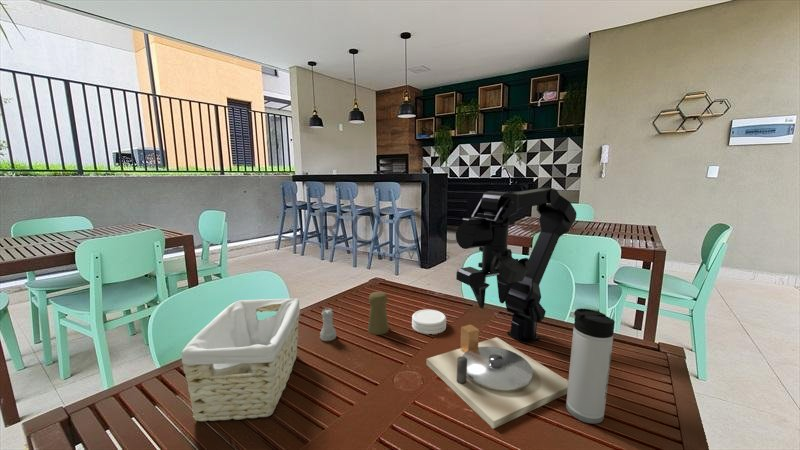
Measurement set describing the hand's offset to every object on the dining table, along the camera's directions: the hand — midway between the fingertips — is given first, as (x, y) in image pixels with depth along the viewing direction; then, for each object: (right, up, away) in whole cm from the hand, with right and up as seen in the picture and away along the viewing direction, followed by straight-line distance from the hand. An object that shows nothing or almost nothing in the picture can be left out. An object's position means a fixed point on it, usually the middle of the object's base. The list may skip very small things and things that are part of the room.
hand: (491, 305), depth 82 cm
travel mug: (+12, -16, -19) cm, 28 cm away
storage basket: (-54, -14, -11) cm, 57 cm away
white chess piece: (-42, -11, +8) cm, 45 cm away
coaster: (-14, -10, +15) cm, 23 cm away
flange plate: (-2, -12, -8) cm, 14 cm away
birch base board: (-2, -14, -9) cm, 16 cm away
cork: (-29, -10, +12) cm, 33 cm away
